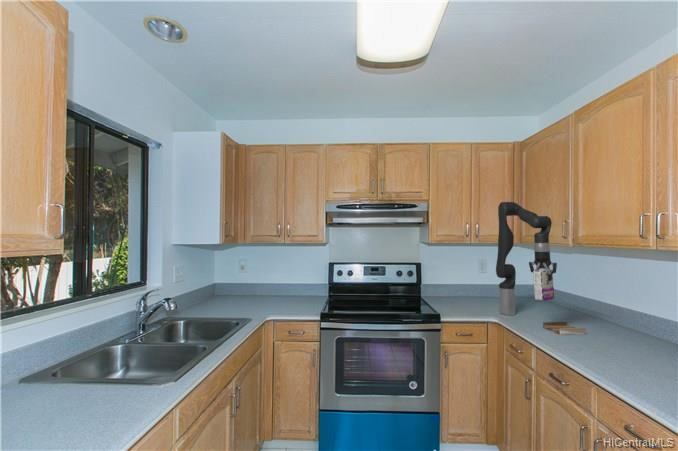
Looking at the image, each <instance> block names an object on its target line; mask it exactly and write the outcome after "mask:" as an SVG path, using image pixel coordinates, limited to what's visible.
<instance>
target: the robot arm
mask: <svg viewBox="0 0 678 451" xmlns="http://www.w3.org/2000/svg"><path fill="white" fill-rule="evenodd" d="M497 212H498V214H497V217H498V235H497V236H498V238H497V259H496V265H495V274H496V276H497V277H498V278H499V279H504V280H503V281H502V282H500V283H498V289H499V290H498V294H499V298H498V308H499V311H498V312H499V314H501V315H505V316H514V315H516V296H515V295H516V294H515V293H516V292H515V285H516V279H517V278H516V274H517V273H516V268H515V266H514V265H513V264H512V263H511V264H510V263H506V261H507V257H508V255H509V254H510V252H511V251H512V249H513V247H514V243H515V242H514V241H515V239H514V238H515V236H514V233H513V231H512V229H511V228H510V226H509V224H508V219H507V217H511V216H515V217H516V216H517V217H518V218H519V219H520V220H521V221H522V222H524V223H526V224H528V225H529V227H530V228H533V229H540V230H539V232H535V233H534V237H533V238H534V245H533V250H534V261H529V262H528V265H529V270H530V273H533V271H536V270H547V272H548V273H549V274H548V279H549V281H551V280H552V274H556V273H557V267H558V263H557V262H554V261H553V262H552V261H551V250H550V249H551V248H550V231H551V228H552V224H553V223H552V219H551V218H550V216H548V215H547V216H546V215H538V214H537V213H535V212H533V211H531V210H527V209H525V208H524V207H523V206H520V205H519V203H516V202H514V201H501V202H499V204H498V208H497ZM534 265H535V266H536V267H535V269H534ZM550 266H551V267H552V269H551V267H550ZM551 270H552V271H551Z"/></svg>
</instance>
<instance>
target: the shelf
mask: <svg viewBox="0 0 678 451" xmlns="http://www.w3.org/2000/svg"><path fill="white" fill-rule="evenodd" d="M542 328H543V329H545V330H547V331H550V332H553V333H555V334H557V335H560V336H573V335H572V334H576V335H586V334H587V332H586V331H587V330H586V327H575V326H572V325H569V324H568V322H567V321H544V322H542Z"/></svg>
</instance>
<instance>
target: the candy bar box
mask: <svg viewBox="0 0 678 451" xmlns="http://www.w3.org/2000/svg"><path fill="white" fill-rule="evenodd" d="M552 270H553V269H551V271H552ZM532 274H533V288H534V291H533V293H534V300H536V301H548V300H553V299H555V290H554V275H553V274H554V273H553V274H552V280H551V281H549V279H548V274H549V273H548V272H547V270H546V269H539V270H536V271H535V270H534V271H533V272H532Z"/></svg>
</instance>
